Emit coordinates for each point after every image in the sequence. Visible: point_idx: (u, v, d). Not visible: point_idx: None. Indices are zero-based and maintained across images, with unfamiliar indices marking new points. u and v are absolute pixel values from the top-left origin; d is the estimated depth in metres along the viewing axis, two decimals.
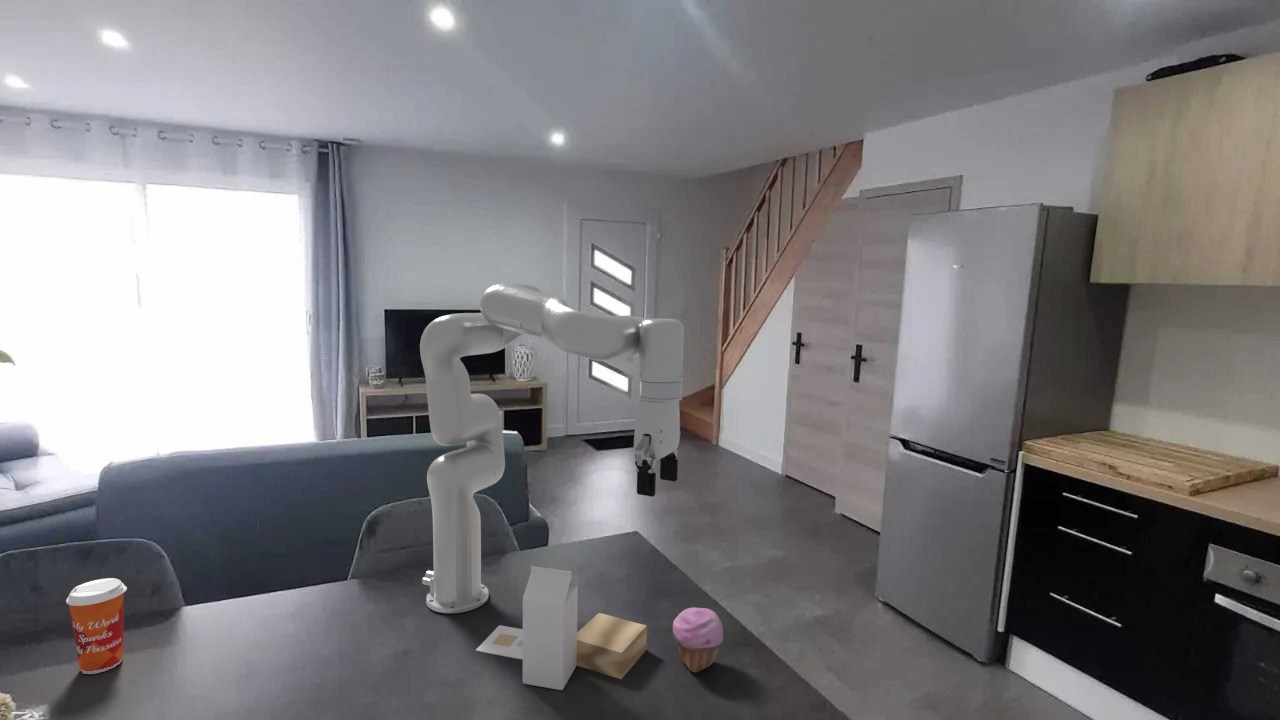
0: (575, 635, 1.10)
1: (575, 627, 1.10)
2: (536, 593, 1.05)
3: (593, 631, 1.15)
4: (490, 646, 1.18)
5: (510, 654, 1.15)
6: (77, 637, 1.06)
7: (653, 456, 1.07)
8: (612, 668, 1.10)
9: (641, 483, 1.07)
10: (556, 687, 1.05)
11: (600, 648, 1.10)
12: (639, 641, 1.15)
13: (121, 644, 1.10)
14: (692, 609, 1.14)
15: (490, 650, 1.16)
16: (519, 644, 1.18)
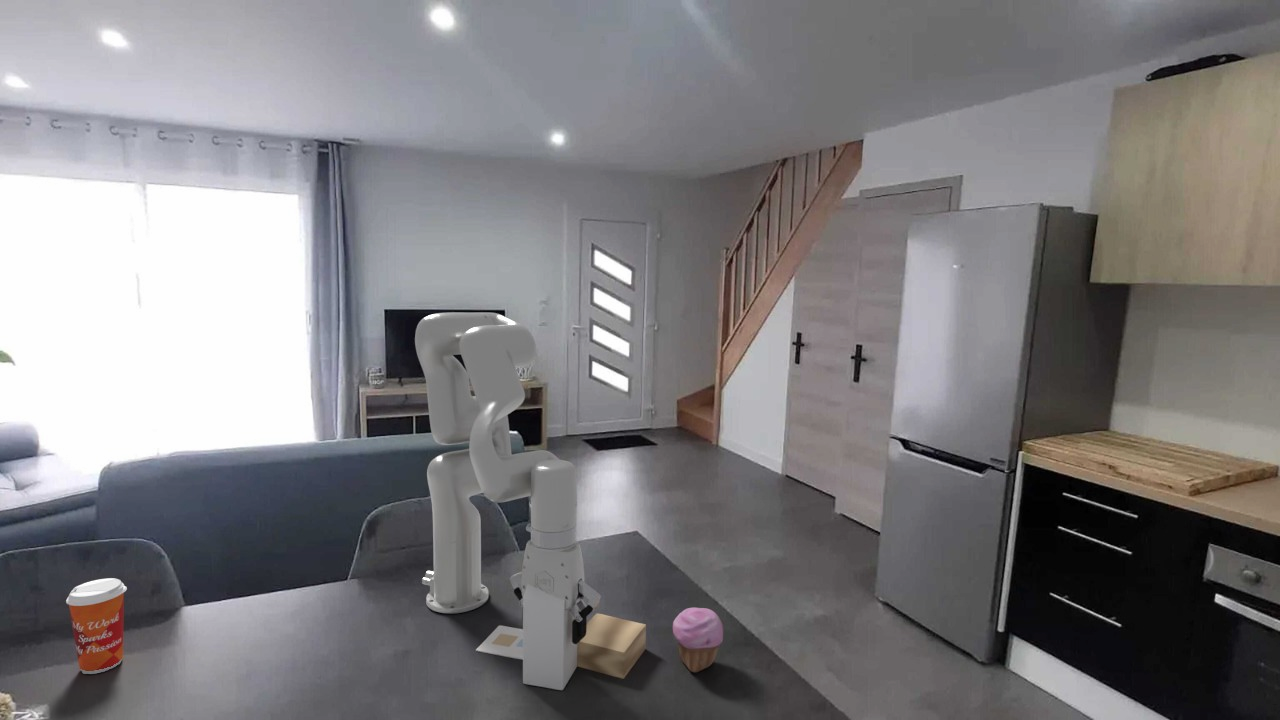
0: None
1: None
2: (536, 592, 1.06)
3: (593, 631, 1.15)
4: (490, 646, 1.18)
5: (510, 654, 1.15)
6: (77, 637, 1.06)
7: (580, 598, 1.07)
8: (614, 668, 1.10)
9: (582, 630, 1.06)
10: (556, 687, 1.05)
11: (601, 649, 1.10)
12: (639, 640, 1.15)
13: (121, 644, 1.10)
14: (692, 609, 1.14)
15: (490, 650, 1.16)
16: (519, 644, 1.18)
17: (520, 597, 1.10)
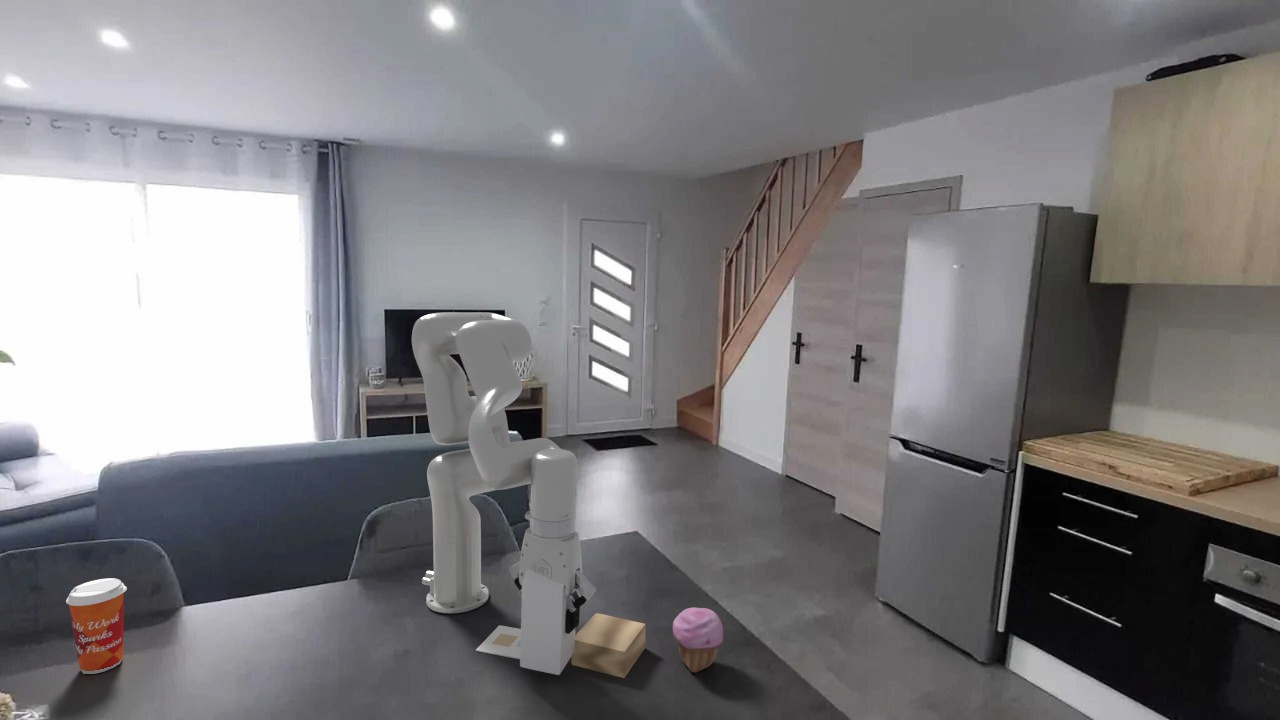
0: None
1: None
2: (535, 577, 1.06)
3: (593, 631, 1.15)
4: (490, 646, 1.18)
5: (510, 654, 1.15)
6: (77, 637, 1.06)
7: (577, 587, 1.08)
8: (615, 668, 1.10)
9: (575, 620, 1.07)
10: (553, 672, 1.06)
11: (602, 648, 1.10)
12: (639, 639, 1.15)
13: (121, 644, 1.10)
14: (692, 609, 1.14)
15: (490, 650, 1.16)
16: (519, 644, 1.18)
17: (520, 587, 1.11)
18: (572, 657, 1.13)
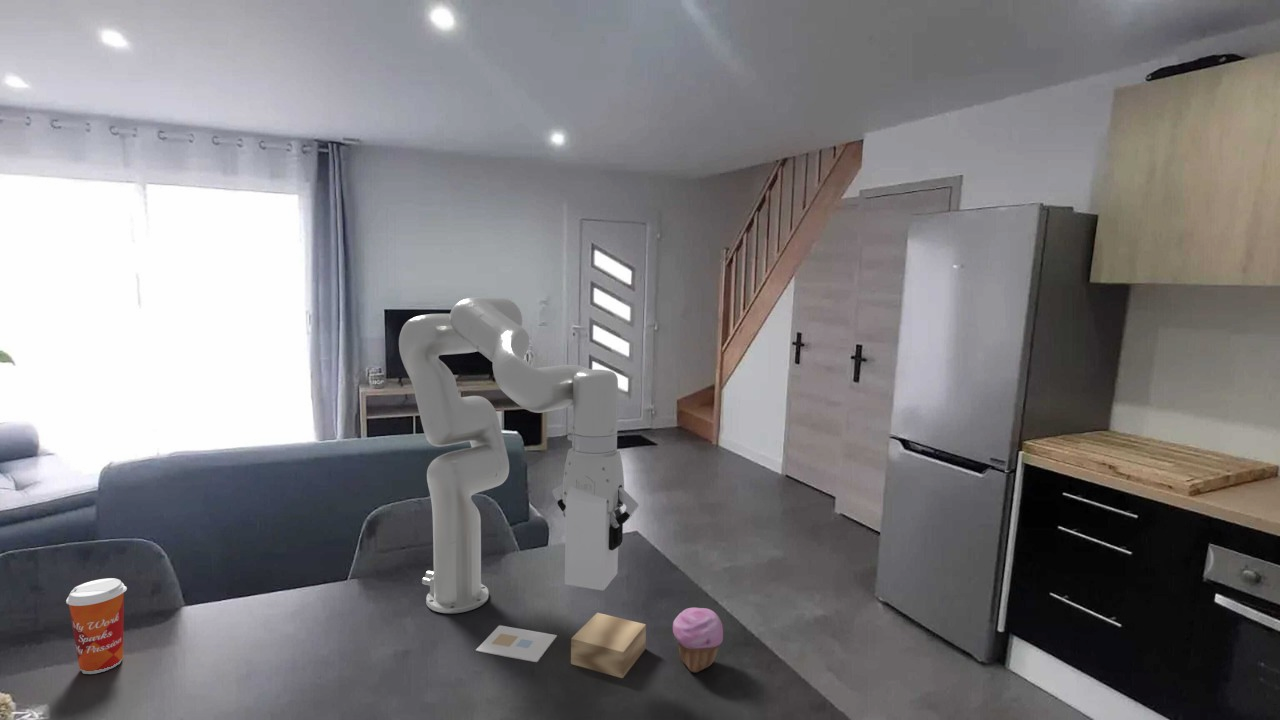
0: None
1: None
2: (579, 494, 1.08)
3: (593, 631, 1.15)
4: (490, 646, 1.18)
5: (510, 654, 1.15)
6: (77, 637, 1.06)
7: (620, 505, 1.09)
8: (613, 668, 1.10)
9: (618, 536, 1.08)
10: (597, 587, 1.07)
11: (600, 648, 1.10)
12: (639, 639, 1.15)
13: (121, 644, 1.10)
14: (692, 609, 1.14)
15: (490, 650, 1.16)
16: (519, 644, 1.18)
17: (563, 509, 1.13)
18: (572, 656, 1.13)
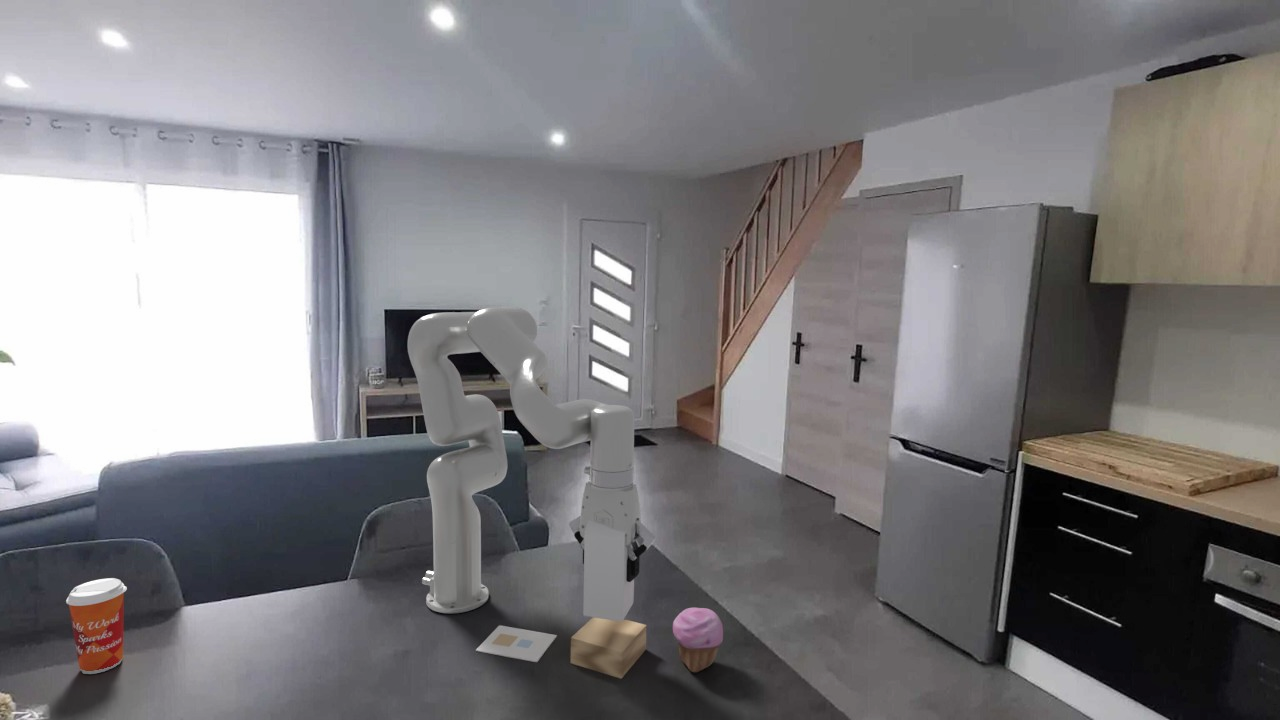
0: None
1: None
2: (597, 527, 1.10)
3: (593, 631, 1.15)
4: (490, 646, 1.18)
5: (510, 654, 1.15)
6: (77, 637, 1.06)
7: (637, 537, 1.12)
8: (612, 668, 1.10)
9: (636, 568, 1.11)
10: (616, 619, 1.10)
11: (600, 648, 1.10)
12: (639, 640, 1.15)
13: (121, 644, 1.10)
14: (692, 609, 1.14)
15: (490, 650, 1.16)
16: (519, 644, 1.18)
17: (580, 541, 1.15)
18: (571, 656, 1.13)
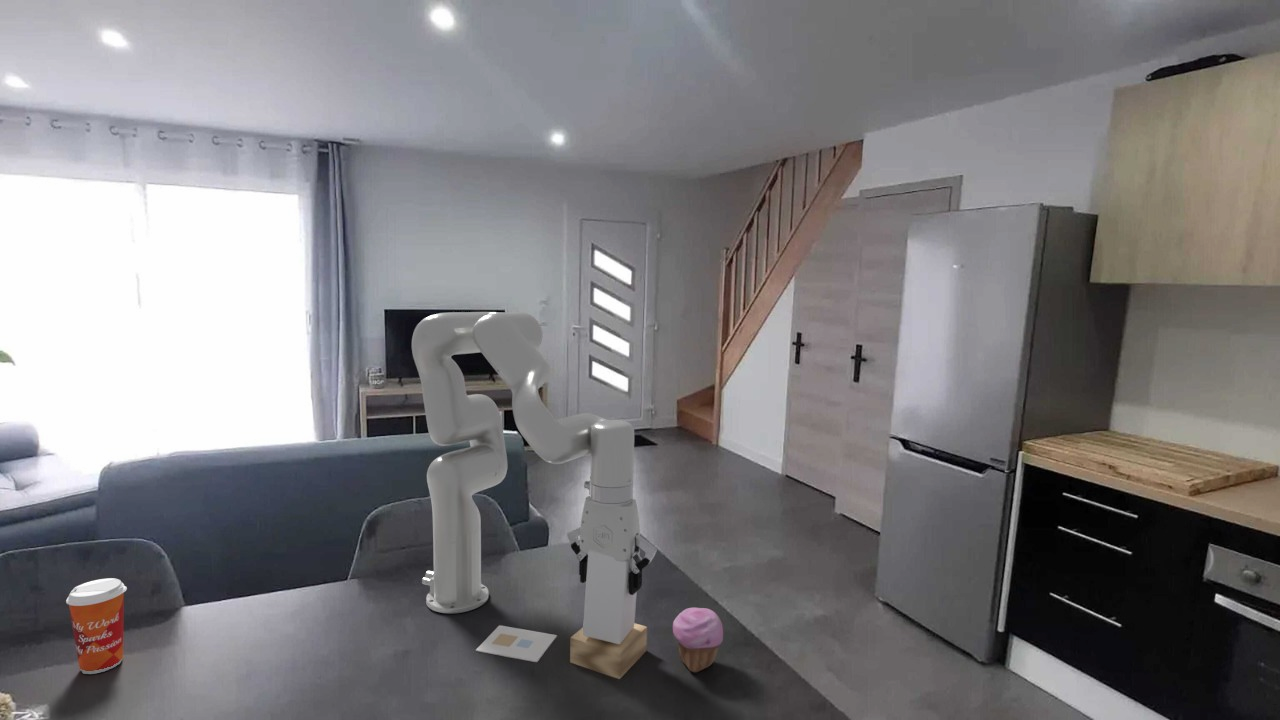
0: (634, 596, 1.15)
1: None
2: None
3: None
4: (490, 646, 1.18)
5: (510, 654, 1.15)
6: (77, 637, 1.06)
7: (636, 552, 1.12)
8: (611, 669, 1.10)
9: (638, 581, 1.11)
10: (614, 641, 1.10)
11: (598, 649, 1.10)
12: (638, 642, 1.15)
13: (121, 644, 1.10)
14: (692, 609, 1.14)
15: (490, 650, 1.16)
16: (519, 644, 1.18)
17: (577, 551, 1.15)
18: (571, 656, 1.13)
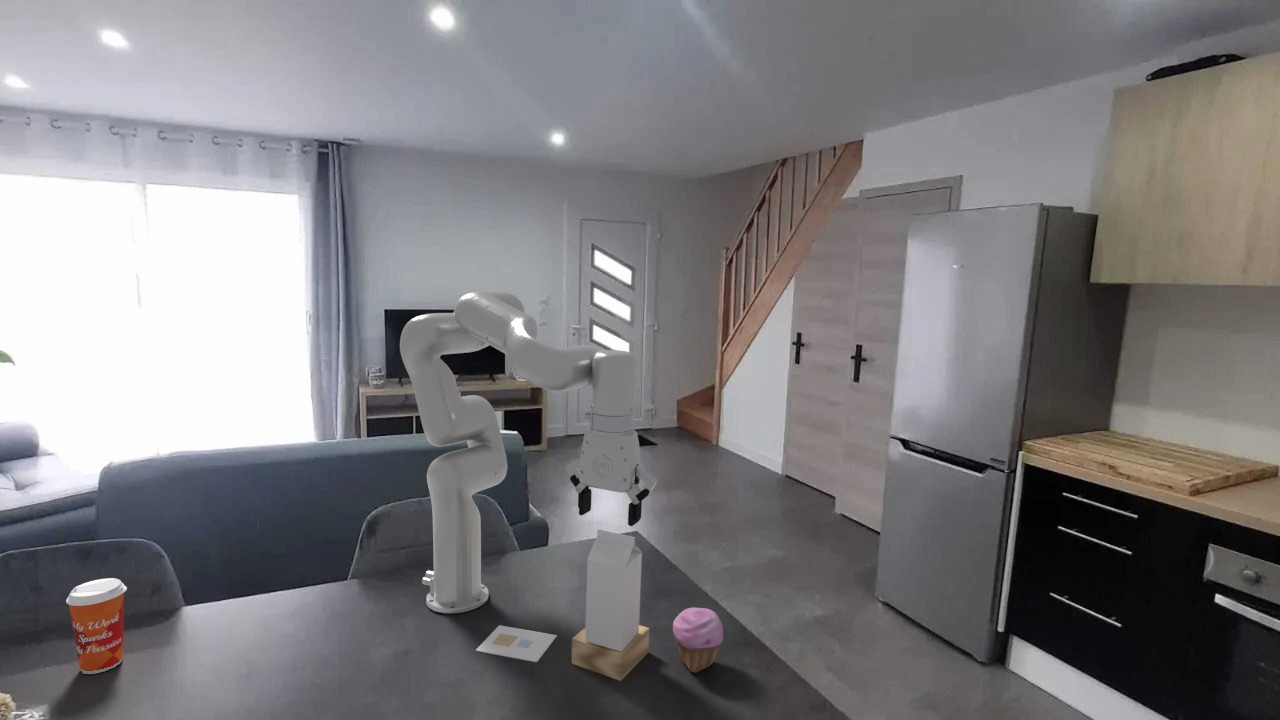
0: (637, 602, 1.13)
1: (638, 593, 1.13)
2: (600, 555, 1.10)
3: None
4: (490, 646, 1.18)
5: (510, 654, 1.15)
6: (77, 637, 1.06)
7: (636, 484, 1.11)
8: (612, 670, 1.09)
9: (638, 513, 1.10)
10: (615, 648, 1.09)
11: (600, 650, 1.10)
12: (640, 643, 1.14)
13: (121, 644, 1.10)
14: (692, 609, 1.14)
15: (490, 650, 1.16)
16: (519, 644, 1.18)
17: (576, 484, 1.14)
18: (572, 656, 1.13)
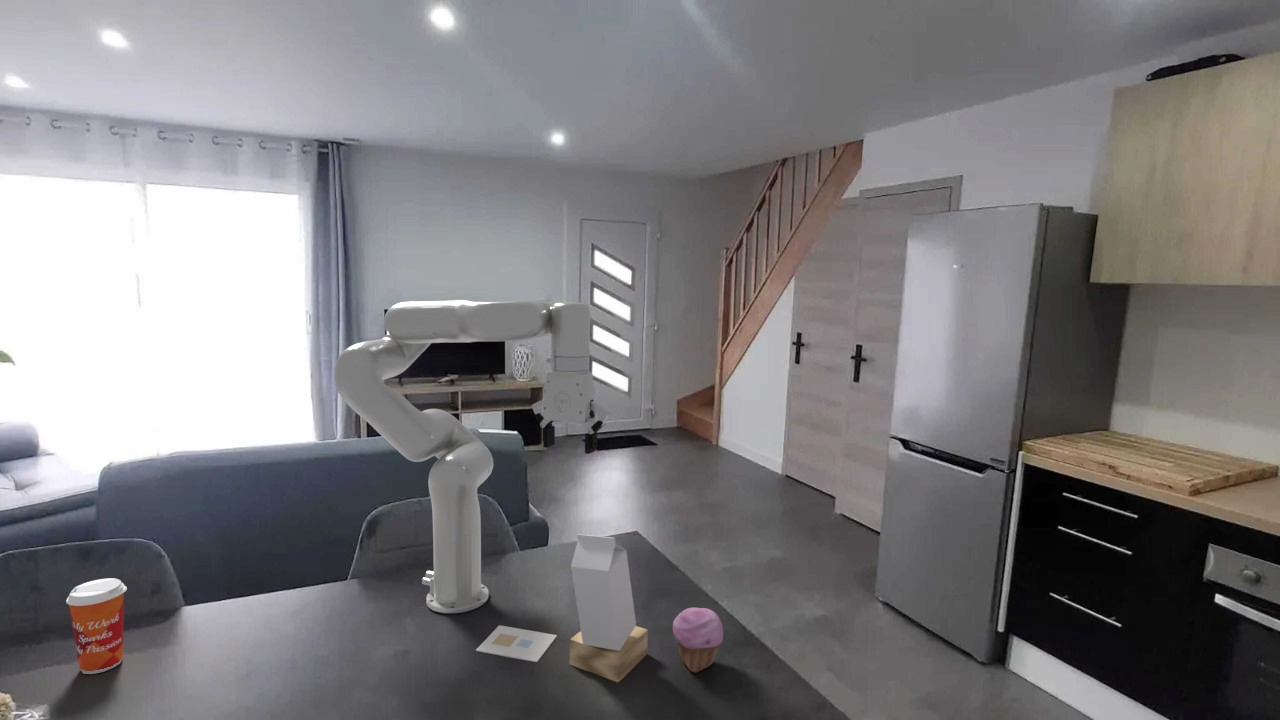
0: (630, 597, 1.12)
1: (628, 590, 1.12)
2: (583, 560, 1.07)
3: None
4: (490, 646, 1.18)
5: (510, 654, 1.15)
6: (77, 637, 1.06)
7: (592, 417, 1.28)
8: (610, 672, 1.09)
9: (593, 442, 1.26)
10: (613, 648, 1.08)
11: (597, 651, 1.10)
12: (639, 645, 1.14)
13: (121, 644, 1.10)
14: (692, 609, 1.14)
15: (490, 650, 1.16)
16: (519, 644, 1.18)
17: (541, 420, 1.31)
18: (570, 657, 1.13)
